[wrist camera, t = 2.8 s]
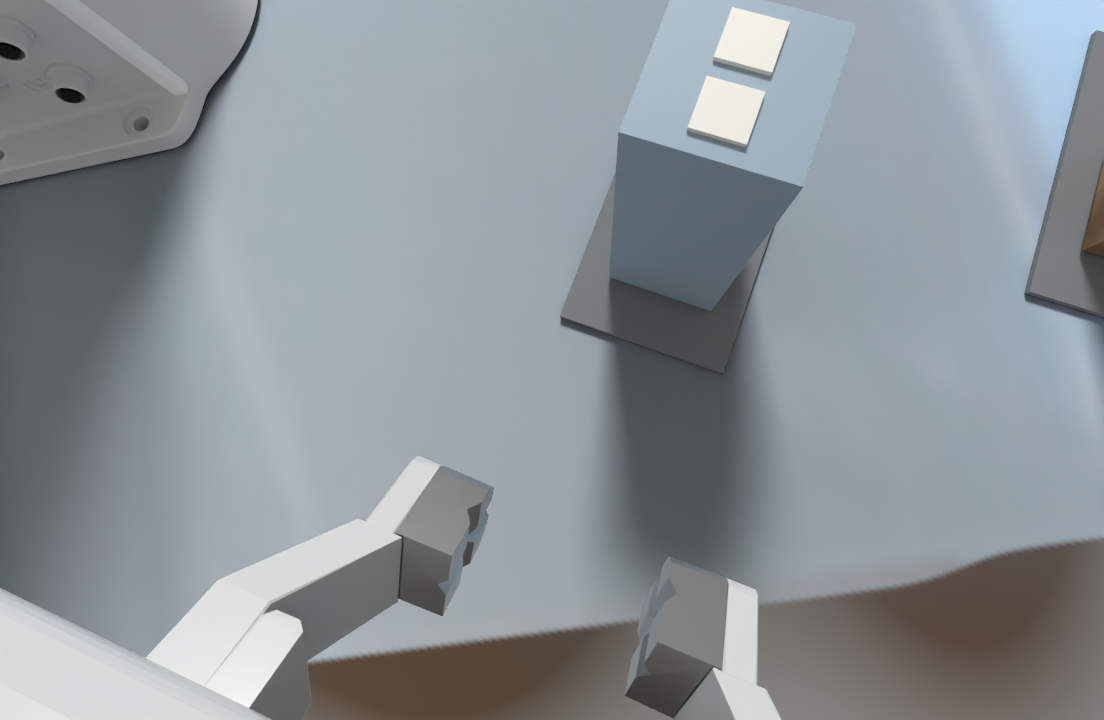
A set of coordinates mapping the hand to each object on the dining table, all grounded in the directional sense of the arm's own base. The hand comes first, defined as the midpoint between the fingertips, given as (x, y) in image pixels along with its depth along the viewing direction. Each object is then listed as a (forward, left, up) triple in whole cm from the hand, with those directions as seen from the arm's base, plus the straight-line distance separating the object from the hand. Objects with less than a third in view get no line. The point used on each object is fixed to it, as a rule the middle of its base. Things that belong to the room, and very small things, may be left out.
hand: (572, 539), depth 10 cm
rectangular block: (+8, +9, -16) cm, 20 cm away
